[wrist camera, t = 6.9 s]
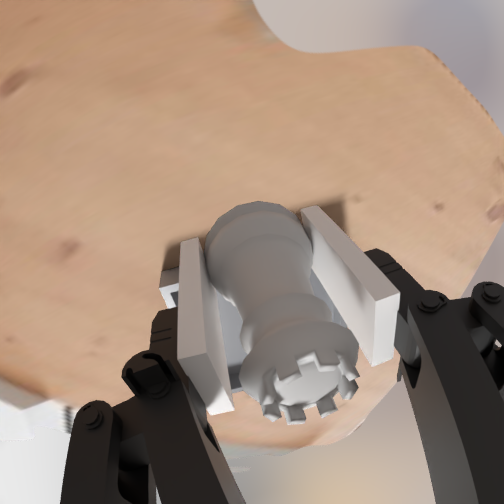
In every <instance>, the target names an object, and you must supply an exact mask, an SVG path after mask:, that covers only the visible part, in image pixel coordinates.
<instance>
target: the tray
mask: <svg viewBox="0 0 504 504" xmlns="http://www.w3.org/2000/svg"><path fill="white" fill-rule="evenodd" d="M309 280H310V283H311V286H312V289H313V292H314V296H316V297H317V298H319V299H321V300H323V301H325V303H326V304H327V306H328V308H329V309H330V311H331V312H332V322H335V323H337V324H339V325H341V326H343V327H345V328H347V324H346V323H345V321H344V320H343V318H342V316H341V315H340V313H339V311H338V310H337V308H336V306H335V305H334V303H333V302H332V300H331V298H330V297H329V295H328V293H327V292H326V290H325V289H324V287H323V285H322V284H321V282H320V281H319V279H318V277H317V276H316V274H315V273H314V271H313V269H312V268H311V275H310V277H309ZM159 289H160V291H161V294H162V296H163V298H164V300H165V302H166V305H167V307H168V309H169V308H173V307H177V306H178V290H179V267H176V268H172V269H169V270H165V271H161V278H160V285H159ZM215 289H216V288H215ZM216 295H217V302H218V309H219V316H220V323H221V329H222V336H223V342H224V349H225V355H226V362H227V368H228V374H229V380H230V386H231V392H232V393H236V392H240V391H243V389H242V386H241V383H240V380H239V377H238V376H239V373H240V370H241V367H242V363H243V360H244V359H245V357H246V356H247V355H248V354H247V353H246V352H245V351H244V350H243V348H242V344H241V341H240V337H239V336H240V332H241V328H242V324H243V321H242V319H241V317H240V314H239V312H238V310H237V308H236V307H235V306H233V305H232V303H231V302H229V301H227V300H225V298H224V297H223V296H222V295H221V294H220V293H219V292H218V291H217V290H216Z"/></svg>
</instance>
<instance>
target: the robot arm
mask: <svg viewBox="0 0 504 504" xmlns="http://www.w3.org/2000/svg"><path fill="white" fill-rule="evenodd" d="M300 211H301V217H302V223H303V227H304V229H305V232H306V233H307V235H308V237H309V238H310V240H311V246H312V258H313V265H312V269H313V271H314V273H315V274H316V276H317V277H318V279H319V281H320V282H321V284H322V285H323V287H324V289H325V290H326V292H327V293H328V295H329V297H330V298H331V300H332V302H333V303H334V305H335V306H336V308H337V310H338V311H339V313H340V315H341V316H342V318H343V320H344V321H345V323H346V324H347V326H348V328H349V329H350V330H351V331H352V333H353V334H354V336H355V338H356V339H357V341H358V343H359V346H360V348H361V350H362V351H363V353H364V355H365V356H366V358H367V360H368V361H369V363H370V365H371V367H373V366H376V365H378V364H381V363H383V362H386V361H388V360H391V359H393V354H394V347H395V348H396V350H397V351H398V352H399V354H400V355H401V357H400V362H399V368H398V373H397V382H398V381H401V376H402V375H403V378H404V381H405V385H406V388H407V391H408V394H409V398H410V401H411V404H412V408H413V411H414V415H415V418H416V421H417V425H418V429H419V432H420V436H421V440H422V444H423V447H424V452H425V455H426V460H427V463H428V468H429V473H430V477H431V482H432V486H433V491H434V496H435V501H436V504H504V287H502V286H501V285H499V284H497V283H493V282H482V283H478V284H477V285H476V286H475V287H474V288H473V292H472V295H471V297H468V298H461V299H454V300H449V299H448V298H447V297H446V296H445V295H444V294H442V293H440V292H438V291H433V290H424V289H423V287H422V286H421V285H420V284H419V283H418V282H417V281H416V280H415V279H414V278H413V277H412V276H411V275H410V274H409V273H408V272H407V271H406V270H405V269H403V268H402V266H401V265H400V264H399V263H396V261H395V260H394V259H393V258H392V257H391V256H390V255H389V254H388V253H386V252H384V251H381V250H379V249H377V248H376V249H372V250H369V251H366V252H363V251H362V250H361V249H360V248H359V247H358V246H357V245H356V244H355V243H354V242H353V241H352V240H351V239H350V238H349V237H348V236H347V235H346V234H345V233H344V232H343V231H342V229H341V228H340V227H339V226H338V225H337V224H336V223H335V222H334V221H333V220H332V219H331V218H330V217H329V216H328V215H327V214H326V213H325V212H324V211H323V210H322V209H321V208H320V207H319V206H318V205H315V206H311V207H307V208H303V209H300ZM203 254H204V253H203V250H202V247H201V244H200V241H199V238H198V237H197V238H193V239H190V240H186V241H183V242H181V246H180V265H179V290H178V306H177V307H173V308H169V309H165V310H161V311H159V312H158V313H157V315H156V317H155V318H154V320H153V322H152V328H151V334H152V335H151V338H150V343H151V344H150V348H149V350H146V351H142V352H140V353H138V354H136V355H134V356H133V357H132V358H131V359H130V360H129V361H128V362H126V364H125V366H124V368H123V370H122V379H123V380H124V381H125V383H126V384H127V385H128V387H129V388H130V389H131V391H132V392H133V393H134V394H135V396H134V397H132V398H130V399H129V400H127V401H125V402H122V403H120V404H118V405H116V406H114V407H111V406H110V405H109V404H108V403H106V402H105V401H100V400H95V401H92V402H89V403H87V404H86V405H84V406H83V407H82V408H81V409H80V410H79V411H78V412H77V414H76V417H75V419H74V423H73V427H72V432H71V437H70V442H69V448H68V454H67V459H66V465H65V471H64V478H63V485H62V492H61V501H60V504H156V486H157V490H158V493H159V497H160V500H161V503H162V504H246V502H245V500H244V498H243V496H242V494H241V492H240V490H239V488H238V486H237V484H236V482H235V479H234V477H233V475H232V473H231V471H230V469H229V466H228V464H227V462H226V460H225V457H224V455H223V453H222V450H221V448H220V446H219V444H218V441H217V439H216V436H215V434H214V432H213V429H212V427H211V426H210V424H209V423H208V421H207V415H206V409H207V410H208V412H209V414H210V415H215V414H219V413H224V412H228V411H233V410H235V409H234V404H233V398H232V392H231V386H230V380H229V374H228V368H227V362H226V355H225V349H224V342H223V336H222V329H221V323H220V316H219V309H218V302H217V295H216V289H215V287H214V286H213V285H212V283H211V280H210V277H209V274H208V270H207V267H206V261H205V258H204V255H203ZM496 339H497V340H498V341H499V342H500V344H501V345H502V346H501V347H498V346H497V345H495V341H496Z"/></svg>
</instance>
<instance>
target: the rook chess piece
mask: <svg viewBox="0 0 504 504" xmlns="http://www.w3.org/2000/svg"><path fill="white" fill-rule="evenodd" d="M203 255H204V258H205V261H206V267H207V270H208V274H209V277H210V280H211V283H212V285H213V286H214V287H215V288H216V290H217V291H218V292H219V293H220V294H221V295H222V296H223V297H224V298H225V300H227V301H229V302H231V303H232V305H233V306H235V307H236V308H237V310H238V312H239V314H240V317H241V319H242V321H243V324H242V328H241V332H240V336H239V337H240V341H241V344H242V348H243V350H244V351H245V352H246V353H247V354H248V355H247V356H246V357H245V359H244V360H243V363H242V367H241V370H240V373H239V376H238V377H239V380H240V383H241V386H242V389H243V391H244V392H245V393H247V394H248V395H249V396H251V397H252V398H253V399H255V400H256V401H258V402H259V403H260V405H261V407H262V411H263V415H264V416H265V417H267V418H268V419H269V420H271V421H272V422H274V421H276V420H277V419H279V418H281V417H282V416H281V413H280V411H284V414H285V418H286V421H287V425H292V424H304V423H305V420H306V416H305V413H304V409H308V408H311V407H315V406H317V408H318V410H319V413H320V415H321V417H322V418H324V417H326V416H328V415H329V414H331V413H333V412H335V411H337V410H338V409H337V407H336V404H335V402H334V399H333V397H334V396H335V395H336V394H337V393H338V392H340V395H341V397H342V399H351V398H352V397H353V395H354V394H355V392H356V391H357V389H358V388H359V387H358V385H357V383H356V381H355V378H358V377H360V375H359V373H358V371H357V370H356V368H355V365H356V362H357V359H358V349H359V343H358V341H357V339H356V338H355V336H354V334H353V333H352V331H351V330H349V329H347V328H345V327H343V326H341V325H339V324H337V323H335V322H332V312H331V311H330V309H329V308H328V306H327V304H326V303H325V301H323V300H321V299H319V298H317V297H316V296H314V292H313V289H312V286H311V283H310V280H309V277H310V275H311V268H312V265H313V258H312V246H311V240H310V238H309V237H308V235H307V233H306V232H305V229H304V227H303V226H302V224H301V222H300V221H299V219H298V217H297V216H296V215H295V214H294V213H292V212H291V211H289V210H287V209H286V208H284V207H283V206H281V205H280V204H274V203H268V202H262V201H256V202H251V203H247V204H242V205H238V206H236V207H234V208H233V209H231V210H230V211H228V212H227V213H225V214H224V215H222V216H221V217H219V218H218V220H217V221H216V222H215V224H214V225H213V227H212V228H211V230H210V231H209V233H208V234H207V237H206V243H205V249H204V254H203Z"/></svg>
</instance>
